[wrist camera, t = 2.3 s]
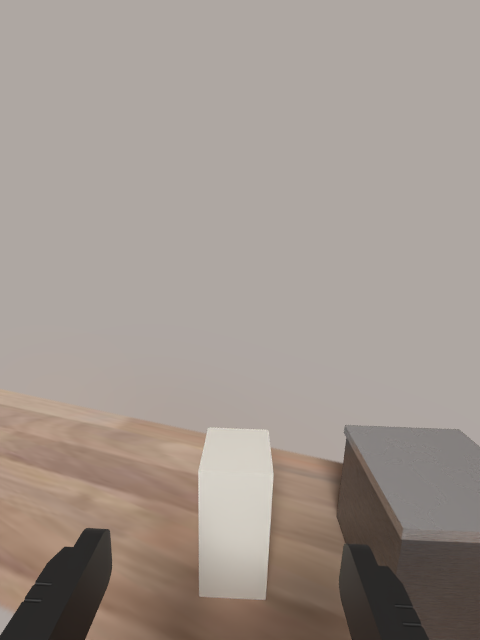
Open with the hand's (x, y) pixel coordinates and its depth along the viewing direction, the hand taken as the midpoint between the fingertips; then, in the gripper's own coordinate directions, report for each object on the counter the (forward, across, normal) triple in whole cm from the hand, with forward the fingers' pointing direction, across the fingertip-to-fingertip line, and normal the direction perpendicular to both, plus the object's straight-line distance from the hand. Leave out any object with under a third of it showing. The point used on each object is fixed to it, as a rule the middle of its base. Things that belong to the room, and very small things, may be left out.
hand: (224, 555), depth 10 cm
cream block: (+12, 0, +15) cm, 19 cm away
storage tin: (+12, -15, +15) cm, 24 cm away
